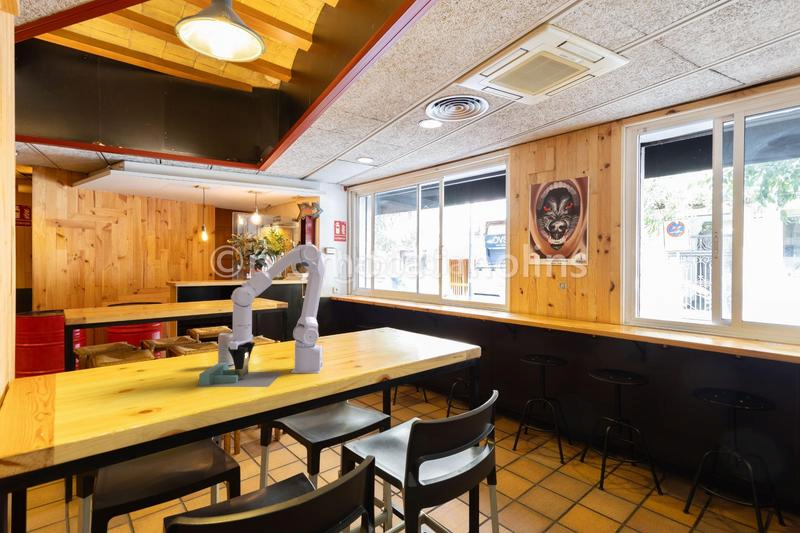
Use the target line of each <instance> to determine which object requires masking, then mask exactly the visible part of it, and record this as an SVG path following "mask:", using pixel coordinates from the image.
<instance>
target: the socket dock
mask: <svg viewBox="0 0 800 533" xmlns="http://www.w3.org/2000/svg"><path fill="white" fill-rule="evenodd" d="M244 376H246V375H244ZM237 382H238V375H235V368H228V362H219V363H218V362H217V363H216V364H214V365H213V366H211V367H209V368H207V369H206V370H204V371H202V372H200V373H199V375H198V384H199V386H209V385H211V384H212V383H237Z"/></svg>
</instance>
